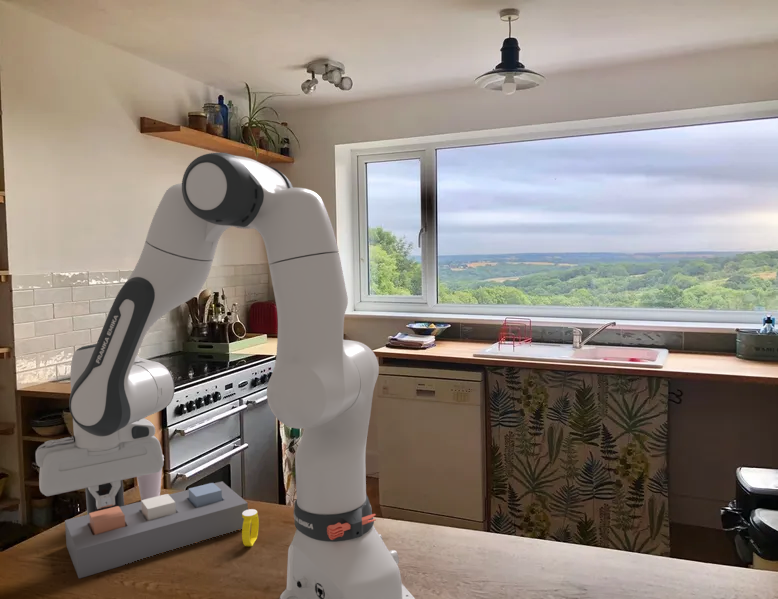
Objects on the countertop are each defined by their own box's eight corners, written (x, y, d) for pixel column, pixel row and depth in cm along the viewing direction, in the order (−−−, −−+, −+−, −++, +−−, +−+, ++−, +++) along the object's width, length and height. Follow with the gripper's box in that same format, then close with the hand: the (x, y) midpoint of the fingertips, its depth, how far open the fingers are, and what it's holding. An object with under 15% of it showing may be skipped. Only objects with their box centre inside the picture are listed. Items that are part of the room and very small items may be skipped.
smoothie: (155, 507, 128) (151, 443, 127) (128, 505, 129) (124, 442, 128) (171, 495, 134) (168, 434, 133) (146, 493, 136) (142, 433, 134)
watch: (254, 551, 109) (252, 521, 108) (239, 551, 109) (236, 521, 108) (263, 533, 115) (261, 504, 114) (248, 533, 115) (247, 504, 114)
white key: (169, 515, 118) (167, 493, 118) (176, 524, 114) (175, 502, 114) (142, 522, 115) (141, 500, 115) (149, 532, 111) (147, 509, 111)
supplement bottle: (87, 520, 123) (83, 463, 122) (123, 512, 126) (120, 456, 125) (88, 533, 117) (84, 473, 116) (126, 525, 120) (123, 467, 119)
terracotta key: (119, 528, 113) (118, 505, 112) (125, 538, 109) (124, 515, 108) (90, 536, 110) (89, 513, 109) (95, 546, 106) (94, 522, 105)
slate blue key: (213, 503, 123) (212, 482, 123) (222, 511, 119) (221, 490, 119) (189, 509, 120) (188, 488, 120) (197, 518, 116) (196, 496, 116)
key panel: (223, 503, 129) (222, 481, 129) (248, 527, 118) (247, 502, 117) (66, 546, 112) (64, 520, 111) (78, 578, 100) (76, 549, 100)
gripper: (36, 447, 99) (41, 528, 100) (164, 425, 111) (167, 497, 112) (32, 438, 104) (37, 515, 105) (154, 417, 116) (158, 487, 117)
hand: (105, 506), depth 109 cm, fingers closed
